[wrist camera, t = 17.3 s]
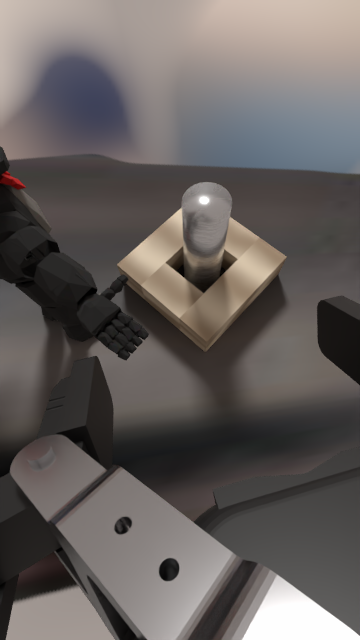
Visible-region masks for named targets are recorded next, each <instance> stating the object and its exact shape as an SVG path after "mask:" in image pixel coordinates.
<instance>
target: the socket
mask: <svg viewBox="0 0 360 640" xmlns="http://www.w3.org/2000/svg"><path fill="white" fill-rule="evenodd" d="M286 258H287V257H286V256H285V255H283V254H282V253H280V252H279V251H278V250H276V249H275V248H273V247H272V246H270V245H269V244H268V243H266V242H265V241H263V240H262V239H260V238H259V237H258V236H256V235H255V234H253V233H252V232H250V231H249V230H248V229H246V228H245V227H243V226H242V225H240V224H239V223H238V222H236V221H235V220H233V219H232V218H231V217H230V219H229V224H228V230H227V236H226V242H225V248H224V253H223V259H222V265H221V267H222V268H224V269H225V270H226V272H225V273H224V274H223V275H222V276H221V277H220V278H219V279H218V280H217V281H216V282H215V283H214V284H213V285H212V286H211V287H210V288H209V289H208V290H207V291H206V292H205V293H202V292H201V291H200V290H199V289H197V288H196V287H195V286H194V285H192V284H191V283H190V282H189V281H187V280H186V279H185V278H184V277H182V276H181V275H180V274H179V273H178V272H176V271H177V270H178V269H179V268H180V267H181V266H182V265H183V264H184V251H183V221H182V208H181V209H180V210H178V211H177V212H176V213H175V214H174V215H173V216H172V217H170V218H169V219H168V220H167V221H166V222H165V223H164V224H163V225H161V226H160V227H159V228H158V229H157V230H156V231H155V232H153V233H152V234H151V235H150V236H149V237H148V238H147V239H146V240H144V241H143V242H142V243H141V244H140V245H139V246H138V247H137V248H135V249H134V250H133V251H132V252H131V253H130V254H129V255H127V256H126V257H125V258H124V259H123V260H122V261H121V262H120V263H118V264H117V266H118V269H119V271H120V274H121V275H123V274H124V275H126V276H127V277H128V279H129V280H128V281H127V283H126V284H127V285H129V286H130V287H131V288H132V289H133V290H134V291H135V292H137V293H138V294H139V295H140V296H141V297H142V298H143V299H145V300H146V301H147V302H148V303H149V304H150V305H152V306H153V307H154V308H155V309H156V310H157V311H158V312H160V313H161V314H162V315H163V316H164V317H165V318H166V319H168V320H169V321H170V322H171V323H172V324H173V325H175V326H176V327H177V328H178V329H179V330H180V331H181V332H183V333H184V334H185V335H186V336H187V337H188V338H189V339H191V340H192V341H193V342H194V343H195V344H196V345H198V346H199V347H200V348H201V349H202V350H203V351H204V352H206V351H207V350H208V349H209V348H210V347H211V346H212V345H213V344H214V343H215V342H216V340H217V339H218V338H219V337H220V336H221V335H222V334H223V333H224V332H225V331H226V330H227V329H228V328H229V327H230V325H231V324H232V323H233V322H234V321H235V320H236V319H237V318H238V317H239V316H240V315H241V314H242V313H243V311H244V310H245V309H246V308H247V307H248V306H249V305H250V304H251V303H252V302H253V301H254V300H255V299H256V298H257V296H258V295H259V294H260V293H261V292H262V291H263V290H264V289H265V288H266V287H267V286H268V285H269V284H270V282H271V281H272V280H273V279H274V278H275V277H276V276H277V275H278V274H279V272H280V270H281V268H282V266H283V264H284V262H285V260H286Z"/></svg>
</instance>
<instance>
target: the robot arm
mask: <svg viewBox="0 0 360 640" xmlns="http://www.w3.org/2000/svg"><path fill="white" fill-rule="evenodd" d="M317 324H318V344H319V347H320V350H321V352H322V353H323V354H324V356H325V357H327V358H328V359H329V360H330V361H331V362H333V363H334V364H335V365H336V366H337V367H339V368H340V369H341V370H342V371H344V372H345V373H346V374H347V375H348V376H350V377H351V378H352V379H353V380H354V381H356V382H357V383H358V384H359V385H360V304H358V303H356V302H354V301H352V300H350V299H348V298H346V297H344V296H337V297H333V298H329V299H325V300H321V301H320V302H319V303H318V306H317ZM112 451H113V403H112V398H111V394H110V391H109V388H108V385H107V382H106V379H105V376H104V373H103V370H102V367H101V364H100V361H99V359H98V357H97V356H94V357H90V358H86V359H82V360H77V361H75V362H74V364H73V368H72V372H71V376H70V377H68V378H64V379H61V381H60V382H59V383H58V384H57V385H56V386H55V387H54V389H53V390H52V393H51V396H50V399H49V402H48V405H47V408H46V411H45V414H44V417H43V420H42V424H41V427H40V430H39V433H38V436H37V439H36V440H35V441H33V442H31V443H30V444H28V445H27V446H26V447H24V448H23V449H22V450H21V451H20V452H19V453H18V454H17V455H16V457H15V458H14V460H13V462H12V464H11V467H10V473H8V474H7V475H5V476H3V477H1V478H0V640H6V635H7V630H8V625H9V620H10V615H11V610H12V605H13V601H14V596H15V591H16V586H17V581H18V576H19V573H20V572H22V571H24V570H25V569H27V568H28V567H30V566H32V565H33V564H35V563H36V562H38V561H40V560H41V559H43V558H44V557H46V556H48V555H49V554H51V553H52V552H54V553H55V554H56V555H57V557H58V558H59V560H60V561H61V562H62V564H63V565H64V566H65V568H66V569H67V571H68V572H69V573H70V575H71V576H72V577H73V579H74V580H75V582H76V583H77V584H78V586H79V587H80V588H81V590H82V591H83V592H84V594H85V595H86V597H87V598H88V599H89V601H90V602H91V603H92V605H93V606H94V608H95V609H96V611H97V612H98V614H99V616H100V617H101V619H102V620H103V622H104V624H105V625H106V627H107V628H108V630H109V631H110V633H111V634H112V636H113V637H114V639H115V640H360V447H356V448H353V449H349V450H346V451H343V452H340V453H339V454H337V455H335V456H334V457H332V458H330V459H329V460H327V461H326V462H324V463H322V464H321V465H319V466H318V467H316V468H314V469H313V470H311V471H309V472H307V473H305V474H298V475H280V476H262V477H253V478H250V479H247V480H243V481H240V482H236V483H233V484H229V485H226V486H222V487H219V488H216V489H213V493H214V498H215V503H216V505H214V506H213V507H211V508H209V509H208V510H207V511H205V512H204V513H203V514H202V515H200V516H199V517H198V518H197V519H196V520H195V521H194V522H192V521H191V520H189V519H188V518H187V517H185V516H184V515H183V514H182V513H180V512H179V511H178V510H176V509H175V508H174V507H172V506H171V505H170V504H169V503H167V502H166V501H165V500H163V499H162V498H161V497H159V496H158V495H157V494H155V493H154V492H153V491H152V490H150V489H149V488H148V487H146V486H145V485H144V484H142V483H141V482H140V481H139V480H137V479H136V478H135V477H133V476H132V475H131V474H129V473H128V472H127V471H125V470H124V469H123V468H121V467H120V466H118V465H113V466H112Z"/></svg>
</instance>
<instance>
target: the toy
mask: <svg viewBox="0 0 360 640" xmlns="http://www.w3.org/2000/svg"><path fill="white" fill-rule="evenodd" d="M9 166H10V165H9V162H8V160H7V158H6V155H5V153H4V150H3V148H2V147H0V279H3V280H5V281H7V282H9V283H11V284H12V283H15V284H16V285H15V286H16V287H18V288H19V289H20V290H21V291H22V292H24V293H25V294H26V295H27V296H29V297H30V298H31V299H32V300H33V301H35V302H36V303H37V304H38V305H40V306H41V308H42V314H43V315H44V316H46V317H47V318H49V319H50V320H52V321H53V320H58V321H59V322H61V323H63V324H64V326H63V328H64V330H65V331H66V333H67V334H68V336H69V337H70V338H72V339H75V340H79V341H84V340H86V339H88V338H90V337H92V336H95V337H96V338H97V339H98V340H99V341H101V342H102V343H103V344H104V345H105V346H106V347H108V349H110V350H111V351H113V352H115V353H116V354H118V357H120V358H122V359H124V360H127V359H128V358H129V356H130V354H129V352H130V353H133V352H134V351H135V350H136V347H135V346H134V345H136V346H137V347H138V346H139V345H140V344H141V343H142V340H141V339H140V338H142V339H144V340H145V339H146V338H147V337H148V335H149V334H148V332H147V331H146V330H145V329H144V328H142V326H141V325H140V324H138V323H137V322H135V321H134V320H133V318H132V317H130V316H128V315H126V314H124V313H123V312H121V309H120V307H118V306H117V305H116V304H114V303H113V302H111V301H110V300H111V299H112V298H113V297H114V296H115V294H116V293H118V292H121V290H122V288H123V285H125V284H126V283H127V281H128V280H129V279H128V277H127V276H126V275H124V274H123V275H121V276H120V277H118V278H117V280H115V281H114V282H113V283H112V285H111V286H110V288H107V289H106V290H105V291H104V292H103V293H100V294H96V292H97V287H96V285H95V282H94V280H93V278H92V275H91V274H90V273H89V272H88V271H86V270H85V268H84V267H83V266H81V265H80V264H79V263H77V262H76V261H74V260H73V259H71V258H70V257H69V256H67V255H66V254H64V253H60V251H59V247H58V244H57V242H56V241H55V240H54V239H53V238H52V237H51V236H50V235H49V232H50V230H51V227H50V225H49V224H48V222H47V220H46V218H45V217H44V215H43V213H42V211H41V210H40V208H39V206H38V204H37V203H36V202H35V201H34V200H33V199H32V198H31V197H30V196H28V195H27V194H26V193H25V192H24V191H23V190H21V189H23V188H26V187H25V186H24V185H23V184H22V183H21V182H20V181H19V180H18V179H15V178H13V177H11V176H10V173H8V172H7V171H8V168H9ZM119 333H120V334H119ZM137 335H138V336H137ZM139 337H140V338H139Z"/></svg>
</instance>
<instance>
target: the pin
mask: <svg viewBox="0 0 360 640" xmlns="http://www.w3.org/2000/svg"><path fill="white" fill-rule="evenodd" d="M231 207H232V198H231V195H230V194H229V192H228V191H227V190H226V189H225V188H224V187H222V186H221V185H218V184H216V183H211V182H203V183H198V184H195V185H193V186H191V187H190V188H189V189H188V190H187V191H186V192H185V193H184V195H183V198H182V221H183V251H184V278H185V279H186V280H187V281H189V282H190V283H191V284H192V285H194V286H195V287H196V288H197V289H199V290H200V291H201V292H202V293H205V292H206V291H207V290H208V289H209V288H210V287H211V286H212V285H213V284H214V283H215V282H216V281H217V280H218V279H219V277H220V271H221V265H222V259H223V253H224V248H225V242H226V236H227V230H228V224H229V219H230V213H231Z"/></svg>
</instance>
